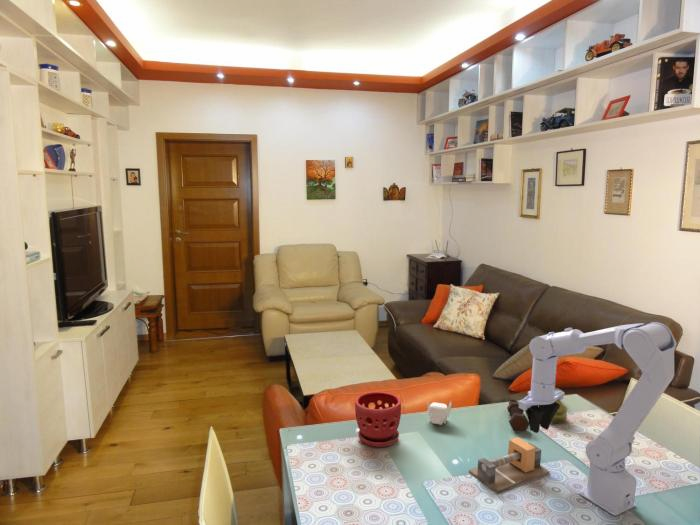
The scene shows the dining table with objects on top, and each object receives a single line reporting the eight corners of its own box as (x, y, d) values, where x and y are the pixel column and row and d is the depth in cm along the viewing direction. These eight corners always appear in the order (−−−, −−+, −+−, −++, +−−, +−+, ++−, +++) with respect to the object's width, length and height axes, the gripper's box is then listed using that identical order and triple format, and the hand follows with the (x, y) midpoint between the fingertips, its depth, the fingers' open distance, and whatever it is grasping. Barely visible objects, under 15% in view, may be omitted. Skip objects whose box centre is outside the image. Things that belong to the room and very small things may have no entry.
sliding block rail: (549, 473, 128) (551, 455, 128) (497, 493, 120) (498, 474, 119) (519, 454, 137) (520, 437, 136) (468, 472, 129) (469, 454, 128)
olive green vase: (536, 415, 161) (538, 385, 159) (555, 412, 163) (558, 383, 161) (551, 426, 154) (554, 395, 152) (571, 422, 156) (574, 392, 154)
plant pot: (400, 429, 150) (401, 391, 148) (400, 452, 137) (401, 411, 135) (356, 426, 151) (357, 388, 150) (352, 449, 139) (353, 408, 137)
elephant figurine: (423, 427, 151) (424, 405, 150) (427, 413, 161) (428, 392, 159) (448, 431, 149) (450, 409, 148) (452, 417, 158) (453, 395, 157)
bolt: (515, 415, 165) (521, 436, 150) (502, 406, 165) (506, 426, 150) (525, 401, 163) (532, 421, 149) (512, 392, 164) (517, 411, 149)
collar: (533, 469, 128) (535, 447, 127) (525, 472, 127) (527, 450, 126) (515, 458, 134) (517, 437, 133) (507, 460, 132) (509, 439, 131)
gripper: (549, 370, 136) (545, 417, 139) (511, 379, 130) (507, 429, 132) (572, 379, 130) (567, 428, 133) (532, 390, 123) (528, 441, 126)
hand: (539, 429), depth 132 cm, fingers open, 3 cm apart
